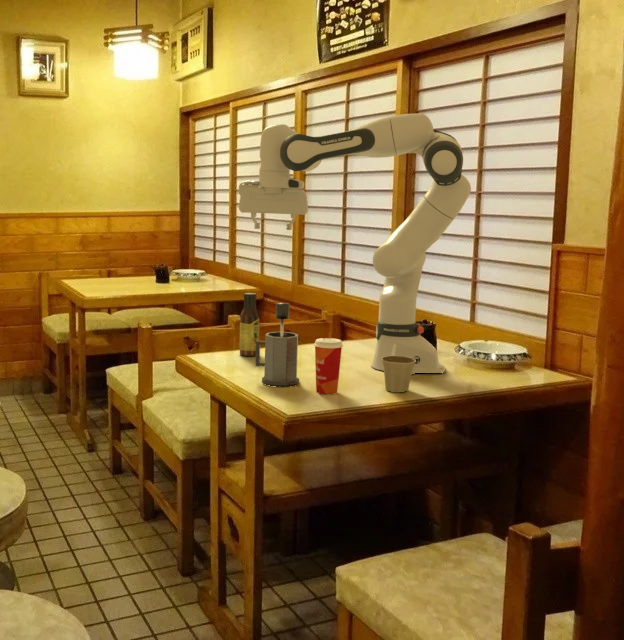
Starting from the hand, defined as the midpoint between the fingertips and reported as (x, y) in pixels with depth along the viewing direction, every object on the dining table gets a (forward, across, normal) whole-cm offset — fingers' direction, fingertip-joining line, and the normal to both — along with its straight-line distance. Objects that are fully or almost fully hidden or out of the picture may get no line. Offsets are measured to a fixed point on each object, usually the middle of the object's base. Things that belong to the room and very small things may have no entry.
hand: (273, 229), depth 233 cm
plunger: (+37, +5, -21) cm, 42 cm away
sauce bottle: (+41, -8, +14) cm, 44 cm away
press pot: (+41, +5, -21) cm, 46 cm away
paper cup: (+41, +18, -29) cm, 54 cm away
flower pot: (+41, +37, -24) cm, 60 cm away
